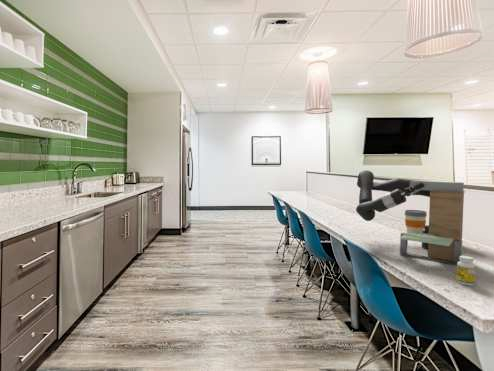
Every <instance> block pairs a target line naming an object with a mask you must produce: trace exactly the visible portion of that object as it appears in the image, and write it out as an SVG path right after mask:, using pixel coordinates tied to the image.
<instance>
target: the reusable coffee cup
mask: <svg viewBox="0 0 494 371" xmlns="http://www.w3.org/2000/svg"><path fill="white" fill-rule="evenodd" d="M404 215H405V216H404V217H405V218H404V223H405V228H406V233H414V234H421V233H422V231H424V230H425V229H424V226H425V225H427V224H426V223H427V215H428V214H427V211H426V210H420V209H419V210H417V209H405V211H404Z"/></svg>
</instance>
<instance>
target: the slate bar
mask: <svg viewBox="0 0 494 371" xmlns="http://www.w3.org/2000/svg"><path fill="white" fill-rule="evenodd" d="M420 183H423V184H424V187H423V188H421V189H418V190H431V191H456V192H463V191H465V190H464V186H465V183H464V182H460V181H459V182H458V181H457V182H454V181H453V182H452V181H415V180H411V182H410V187H412V186H414V187H415V186H416V185H418V184H420ZM416 190H417V189H416Z"/></svg>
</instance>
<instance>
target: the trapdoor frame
mask: <svg viewBox="0 0 494 371" xmlns="http://www.w3.org/2000/svg"><path fill="white" fill-rule="evenodd" d="M406 233H407V232H401V233H400V236H399V237H400V239H399V245H400V246H399V255H400V256H405V257H410V258H416V259H420V260H426V261H432V262H436V263H437V262H438V263H442V264H449V265H454V266H457V263H458V262H459V261H460V259H459V257H460V256H463V240H462V241H460V240H455V244H454V261H450V260H444V259H439V258H433V257H428V255H422V254H421V255H419V254H415V253H410V252H408V245H409V243H408V241H409V240H404V239H401V236H403V235H404V234H406Z"/></svg>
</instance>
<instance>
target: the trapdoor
mask: <svg viewBox="0 0 494 371" xmlns="http://www.w3.org/2000/svg"><path fill="white" fill-rule="evenodd" d="M405 233H406V234H404V235H403V236H401V235H400V237H401V239H404V240H408V241H413V242H417V243H418V242H419V243H422V242H424V243H431V244H437V245H444V246H450V244H451V243H452V242H453V239H452V238H444V237H439V235H433V234H425V233H421V234H414V233H407V232H405Z"/></svg>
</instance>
